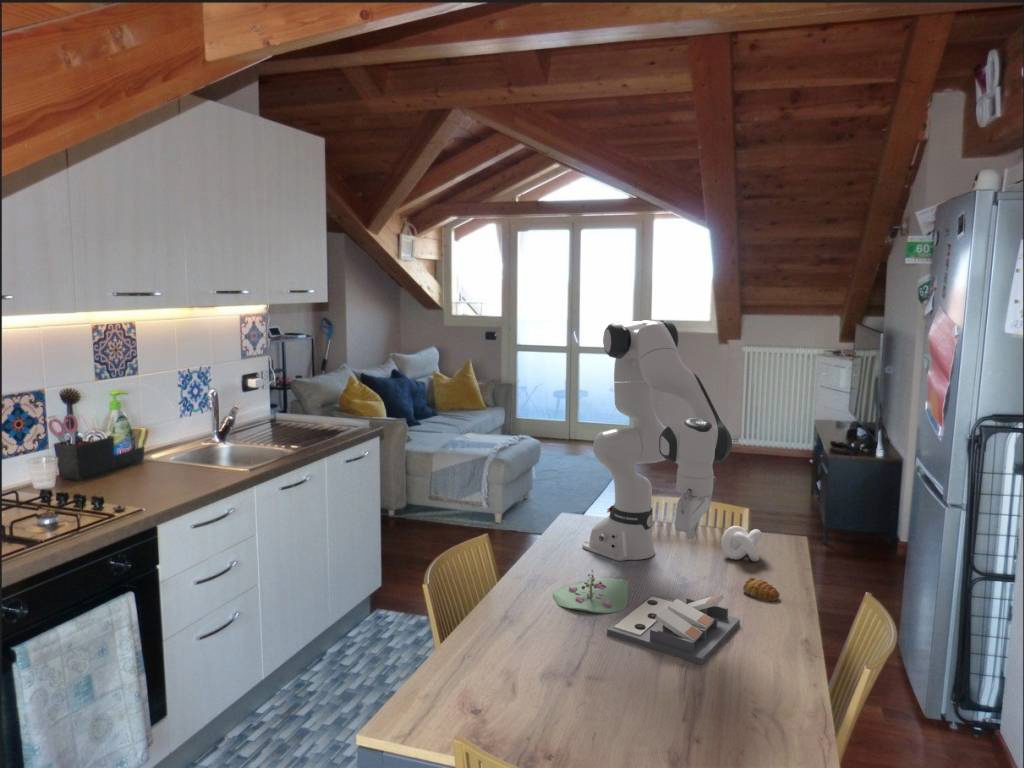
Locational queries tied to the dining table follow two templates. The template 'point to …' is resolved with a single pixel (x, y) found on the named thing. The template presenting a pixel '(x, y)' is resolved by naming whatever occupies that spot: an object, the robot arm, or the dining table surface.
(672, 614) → the switch near
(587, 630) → the dining table surface
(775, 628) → the dining table surface
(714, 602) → the switch far
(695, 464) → the robot arm
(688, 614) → the switch middle
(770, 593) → the pastry
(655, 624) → the switch unit
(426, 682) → the dining table surface
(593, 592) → the plant
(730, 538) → the white knot sculpture
